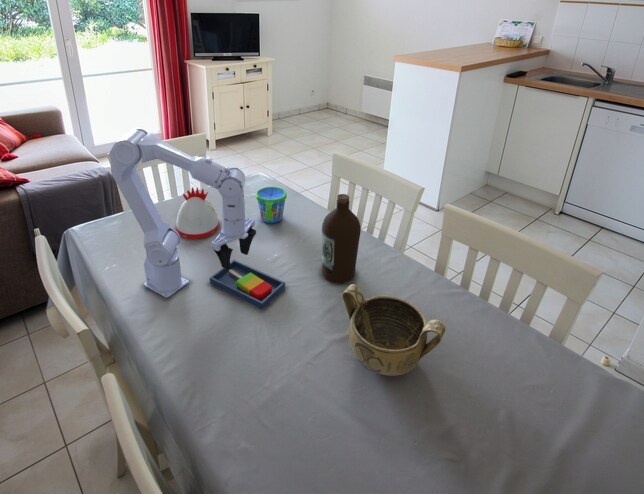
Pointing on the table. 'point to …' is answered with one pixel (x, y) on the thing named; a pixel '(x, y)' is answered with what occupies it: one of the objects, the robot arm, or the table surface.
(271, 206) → the snack cup
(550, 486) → the table surface
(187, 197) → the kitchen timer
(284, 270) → the table surface
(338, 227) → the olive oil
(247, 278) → the popsicle
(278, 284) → the tray
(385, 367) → the ceramic bowl
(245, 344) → the table surface
